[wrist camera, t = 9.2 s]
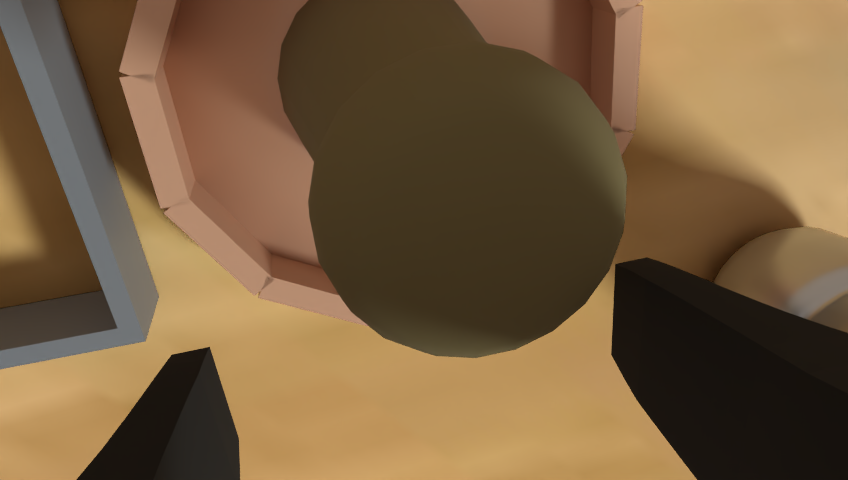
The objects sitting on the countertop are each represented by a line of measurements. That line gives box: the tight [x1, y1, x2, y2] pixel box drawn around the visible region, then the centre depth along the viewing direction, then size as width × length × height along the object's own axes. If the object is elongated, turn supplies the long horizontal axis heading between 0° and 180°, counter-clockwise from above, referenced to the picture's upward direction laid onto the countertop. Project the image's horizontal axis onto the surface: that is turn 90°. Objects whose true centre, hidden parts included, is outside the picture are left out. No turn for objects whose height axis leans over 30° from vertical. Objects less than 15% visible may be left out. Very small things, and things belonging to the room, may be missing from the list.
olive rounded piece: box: [277, 0, 627, 358], centre depth 14 cm, size 6×6×11 cm
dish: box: [119, 0, 643, 326], centre depth 19 cm, size 14×14×2 cm
